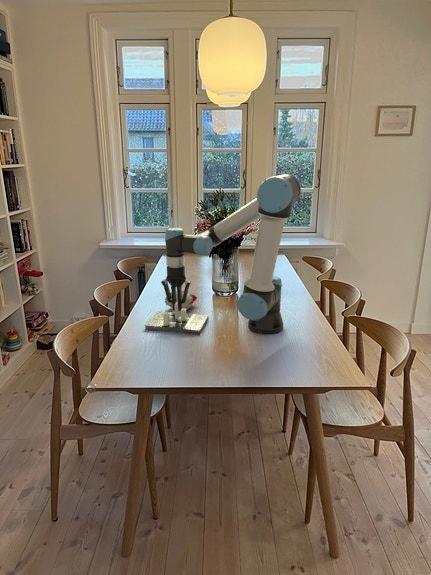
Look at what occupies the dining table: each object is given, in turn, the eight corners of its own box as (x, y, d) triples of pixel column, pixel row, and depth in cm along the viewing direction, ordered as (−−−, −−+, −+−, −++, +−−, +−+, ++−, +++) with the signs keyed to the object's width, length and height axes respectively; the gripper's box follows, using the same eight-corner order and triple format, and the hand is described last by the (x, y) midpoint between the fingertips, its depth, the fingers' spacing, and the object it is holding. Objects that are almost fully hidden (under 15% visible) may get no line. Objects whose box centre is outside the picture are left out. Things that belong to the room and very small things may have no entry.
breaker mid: (186, 318, 175) (186, 308, 173) (185, 321, 173) (184, 310, 171) (182, 318, 175) (182, 308, 174) (181, 320, 173) (180, 310, 171)
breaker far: (177, 312, 182) (177, 302, 180) (176, 314, 179) (175, 304, 178) (174, 312, 182) (173, 302, 180) (172, 314, 180) (172, 304, 178)
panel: (208, 319, 180) (208, 315, 180) (199, 334, 166) (199, 330, 165) (158, 315, 185) (157, 310, 184) (145, 329, 170) (145, 324, 170)
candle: (163, 309, 191) (185, 303, 202) (180, 314, 184) (201, 309, 196) (164, 290, 189) (186, 286, 200) (181, 295, 182) (203, 291, 194)
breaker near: (169, 323, 171) (169, 312, 169) (167, 325, 168) (167, 314, 167) (165, 322, 171) (165, 312, 169) (163, 325, 169) (163, 314, 167)
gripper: (193, 263, 169) (194, 315, 176) (163, 262, 171) (166, 313, 179) (188, 268, 162) (189, 322, 169) (157, 266, 164) (160, 319, 172)
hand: (177, 317), depth 174 cm, fingers closed
